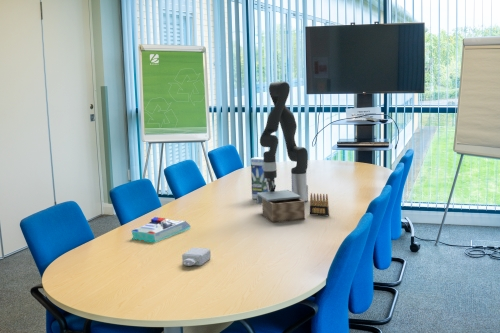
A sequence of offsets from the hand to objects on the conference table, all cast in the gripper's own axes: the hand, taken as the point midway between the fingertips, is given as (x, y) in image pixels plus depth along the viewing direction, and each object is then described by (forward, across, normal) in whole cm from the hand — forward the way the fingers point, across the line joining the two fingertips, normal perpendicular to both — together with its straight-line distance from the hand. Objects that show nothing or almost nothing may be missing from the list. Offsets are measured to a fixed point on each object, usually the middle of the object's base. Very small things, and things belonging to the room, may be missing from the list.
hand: (270, 199), depth 334 cm
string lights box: (+6, +30, -5) cm, 32 cm away
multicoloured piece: (+7, -27, +67) cm, 72 cm away
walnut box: (+6, -20, 0) cm, 21 cm away
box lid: (+1, -13, 0) cm, 13 cm away
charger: (+6, -80, +60) cm, 100 cm away
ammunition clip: (+6, -23, -20) cm, 32 cm away
